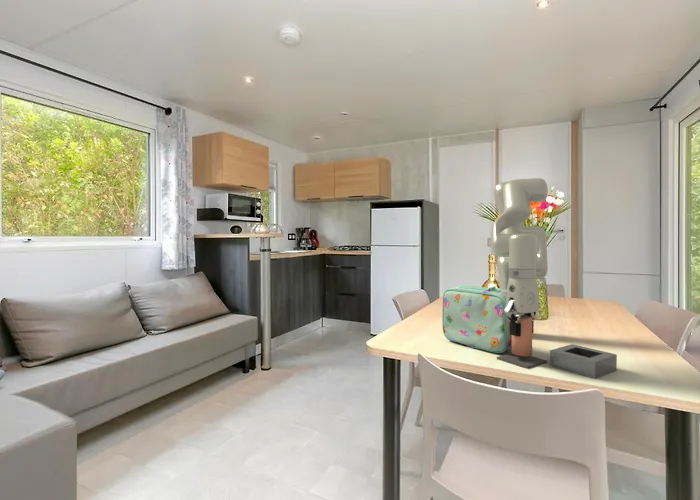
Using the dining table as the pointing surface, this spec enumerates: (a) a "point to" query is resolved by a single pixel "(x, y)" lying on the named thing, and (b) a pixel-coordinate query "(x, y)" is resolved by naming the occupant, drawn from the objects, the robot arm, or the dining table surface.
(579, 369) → the housing
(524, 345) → the orange cylinder
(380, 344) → the dining table surface
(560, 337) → the dining table surface
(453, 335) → the lunch box
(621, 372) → the dining table surface
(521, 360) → the mat
